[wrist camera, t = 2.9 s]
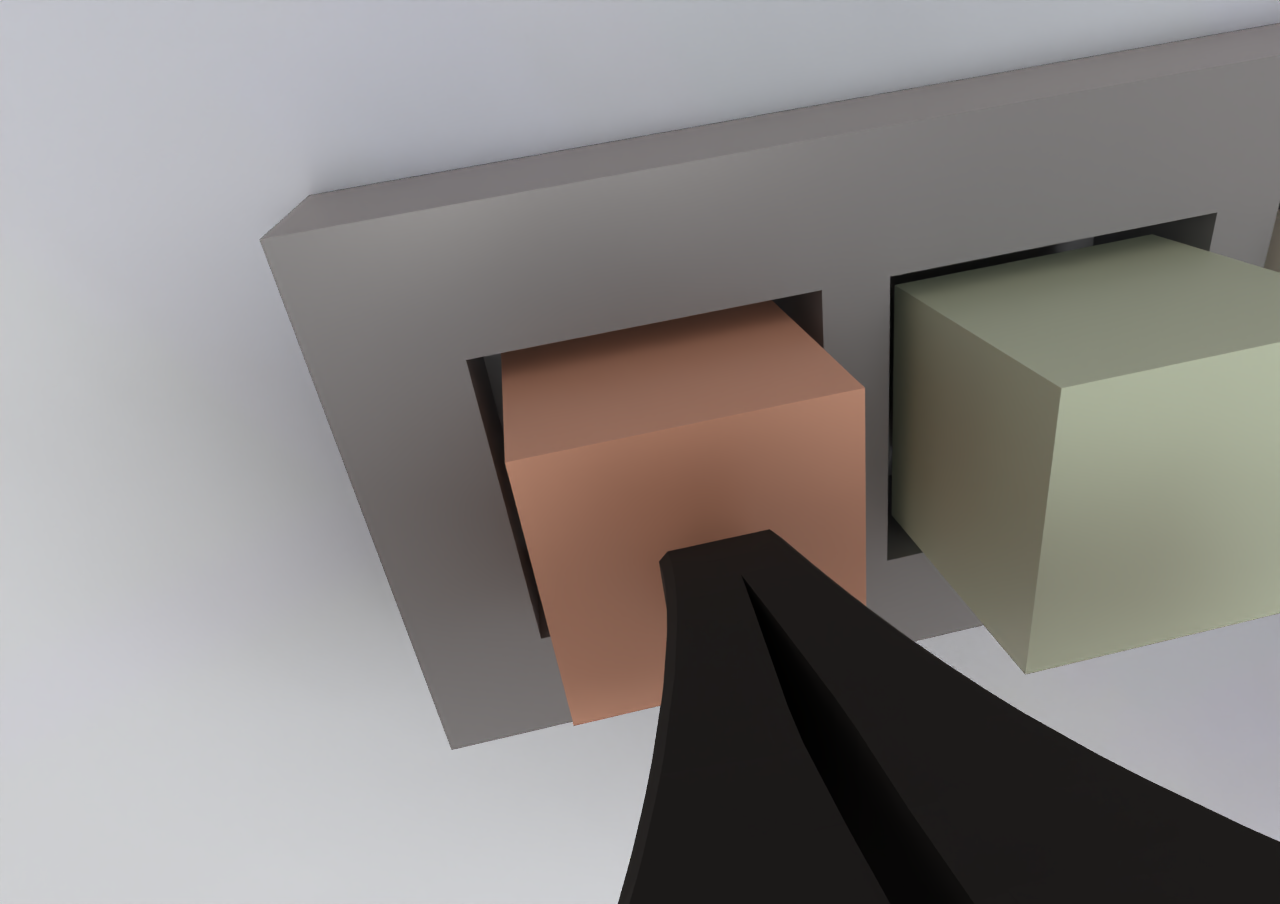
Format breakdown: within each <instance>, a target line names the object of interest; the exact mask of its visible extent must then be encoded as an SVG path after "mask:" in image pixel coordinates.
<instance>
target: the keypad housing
mask: <svg viewBox="0 0 1280 904" xmlns="http://www.w3.org/2000/svg"><path fill="white" fill-rule="evenodd" d="M1278 209H1280V23H1278V24H1272V25H1266V26H1261V27H1255V28H1250V29H1244V30H1238V31H1233V32H1227V33H1221V34H1216V35H1210V36H1204V37H1199V38H1193V39H1188V40H1182V41H1176V42H1171V43H1165V44H1159V45H1154V46H1148V47H1142V48H1137V49H1131V50H1126V51H1120V52H1114V53H1109V54H1103V55H1097V56H1092V57H1086V58H1080V59H1075V60H1069V61H1064V62H1058V63H1052V64H1047V65H1041V66H1035V67H1030V68H1024V69H1018V70H1013V71H1007V72H1002V73H996V74H990V75H985V76H979V77H973V78H968V79H962V80H956V81H951V82H945V83H940V84H934V85H928V86H923V87H917V88H911V89H906V90H900V91H894V92H889V93H883V94H878V95H872V96H866V97H861V98H855V99H849V100H844V101H838V102H832V103H827V104H821V105H816V106H810V107H804V108H799V109H793V110H787V111H782V112H776V113H771V114H765V115H759V116H754V117H748V118H742V119H737V120H731V121H725V122H720V123H714V124H709V125H703V126H697V127H692V128H686V129H680V130H675V131H669V132H663V133H658V134H652V135H647V136H641V137H635V138H630V139H624V140H618V141H613V142H607V143H601V144H596V145H590V146H585V147H579V148H573V149H568V150H562V151H556V152H551V153H545V154H539V155H534V156H528V157H523V158H517V159H511V160H506V161H500V162H494V163H489V164H483V165H477V166H472V167H466V168H461V169H455V170H449V171H444V172H438V173H432V174H427V175H421V176H415V177H410V178H404V179H399V180H393V181H387V182H382V183H376V184H370V185H365V186H359V187H353V188H348V189H342V190H337V191H331V192H325V193H320V194H314V195H309V196H308V197H307V198H306V199H305V200H303V201H302V202H301V203H300V204H299V205H298V206H297V207H296V208H294V209H293V210H292V211H291V212H290V213H289V214H288V215H287V216H285V217H284V218H283V219H282V220H281V221H280V222H279V223H278V224H276V225H275V226H274V227H273V228H272V229H271V230H270V231H269V232H267V233H266V234H265V235H264V236H263V237H262V238H261V239H260V242H261V245H262V247H263V250H264V253H265V255H266V258H267V261H268V263H269V266H270V268H271V271H272V274H273V276H274V279H275V282H276V284H277V287H278V290H279V292H280V295H281V298H282V300H283V303H284V306H285V308H286V311H287V314H288V316H289V319H290V322H291V324H292V327H293V330H294V332H295V335H296V338H297V340H298V343H299V346H300V348H301V351H302V353H303V356H304V359H305V361H306V364H307V367H308V369H309V372H310V375H311V377H312V380H313V383H314V385H315V388H316V391H317V393H318V396H319V399H320V401H321V404H322V407H323V409H324V412H325V415H326V417H327V420H328V423H329V425H330V428H331V431H332V433H333V436H334V438H335V441H336V444H337V446H338V449H339V452H340V454H341V457H342V460H343V462H344V465H345V468H346V470H347V473H348V476H349V478H350V481H351V484H352V486H353V489H354V492H355V494H356V497H357V500H358V502H359V505H360V508H361V510H362V513H363V516H364V518H365V521H366V523H367V526H368V529H369V531H370V534H371V537H372V539H373V542H374V545H375V547H376V550H377V553H378V555H379V558H380V561H381V563H382V566H383V569H384V571H385V574H386V577H387V579H388V582H389V585H390V587H391V590H392V593H393V595H394V598H395V601H396V603H397V606H398V608H399V611H400V614H401V616H402V619H403V622H404V624H405V627H406V630H407V632H408V635H409V638H410V640H411V643H412V646H413V648H414V651H415V654H416V656H417V659H418V662H419V664H420V667H421V670H422V672H423V675H424V678H425V680H426V683H427V685H428V688H429V691H430V693H431V696H432V699H433V701H434V704H435V707H436V709H437V712H438V715H439V717H440V720H441V723H442V725H443V728H444V731H445V733H446V736H447V739H448V741H449V744H450V747H451V749H452V750H453V749H458V748H462V747H466V746H471V745H475V744H479V743H483V742H488V741H492V740H496V739H500V738H505V737H509V736H513V735H517V734H522V733H526V732H530V731H534V730H539V729H543V728H547V727H551V726H556V725H560V724H564V723H569V722H573V721H572V717H571V713H570V709H569V705H568V702H567V698H566V694H565V690H564V686H563V683H562V679H561V675H560V671H559V667H558V663H557V660H556V656H555V652H554V648H553V644H552V641H551V637H550V633H549V629H548V625H547V621H546V618H545V614H544V610H543V606H542V602H541V599H540V595H539V591H538V587H537V583H536V579H535V576H534V572H533V568H532V564H531V560H530V557H529V553H528V549H527V545H526V541H525V537H524V534H523V530H522V526H521V522H520V518H519V515H518V511H517V507H516V503H515V499H514V495H513V492H512V488H511V484H510V480H509V476H508V473H507V469H506V465H505V452H504V424H503V396H502V368H501V353H504V352H509V351H514V350H519V349H524V348H529V347H535V346H540V345H545V344H550V343H555V342H560V341H565V340H570V339H575V338H580V337H585V336H591V335H596V334H601V333H606V332H611V331H616V330H621V329H626V328H631V327H636V326H641V325H647V324H652V323H657V322H662V321H667V320H672V319H677V318H682V317H687V316H692V315H697V314H703V313H708V312H713V311H718V310H723V309H728V308H733V307H738V306H743V305H748V304H753V303H759V302H764V301H769V300H772V301H773V302H774V303H775V304H776V305H778V306H779V307H780V308H781V309H782V310H783V311H784V312H785V313H786V314H787V315H788V316H789V317H790V318H791V319H792V320H793V321H795V322H796V323H797V324H798V325H799V326H800V327H801V328H802V329H803V330H804V331H805V332H806V333H807V334H808V335H809V336H810V337H812V338H813V339H814V340H815V341H816V342H817V343H818V344H819V345H820V346H821V347H822V348H823V349H824V350H825V351H826V352H827V353H829V354H830V355H831V356H832V357H833V358H834V359H835V360H836V361H837V362H838V363H839V364H840V365H841V366H842V367H843V368H844V369H846V370H847V371H848V372H849V373H850V374H851V375H852V376H853V377H854V378H855V379H856V380H857V381H858V382H859V383H860V384H861V385H863V386H864V387H865V472H866V607H868V608H869V609H870V610H872V611H873V612H875V613H876V614H877V615H879V616H880V617H881V618H883V619H884V620H885V621H887V622H888V623H890V624H891V625H892V626H894V627H895V628H896V629H898V630H899V631H900V632H902V633H903V634H905V635H906V636H907V637H909V638H910V639H911V640H913V641H918V640H922V639H926V638H931V637H935V636H939V635H944V634H948V633H952V632H956V631H961V630H965V629H969V628H973V627H978V626H982V625H983V624H982V622H981V621H980V620H979V619H978V618H977V616H976V615H975V614H974V613H973V612H972V610H971V609H970V608H969V607H968V606H967V604H966V603H965V602H964V601H963V600H962V598H961V597H960V596H959V595H958V594H957V592H956V591H955V590H954V589H953V588H952V586H951V585H950V584H949V583H948V582H947V581H946V579H945V578H944V577H943V576H942V575H941V573H940V572H939V571H938V570H937V569H936V567H935V566H934V565H933V564H932V563H931V561H930V560H929V559H928V558H927V557H926V555H925V554H924V553H923V552H922V551H921V549H920V548H919V547H918V546H917V545H916V543H915V542H914V541H913V540H912V539H911V537H910V536H909V535H908V534H907V533H906V532H905V530H904V529H903V528H902V527H901V526H900V524H899V523H898V522H897V521H896V520H895V518H894V517H893V516H892V443H893V367H894V292H895V285H897V284H902V283H908V282H913V281H918V280H923V279H928V278H933V277H938V276H943V275H948V274H953V273H958V272H963V271H968V270H973V269H978V268H984V267H989V266H994V265H999V264H1004V263H1009V262H1014V261H1019V260H1024V259H1029V258H1034V257H1039V256H1044V255H1049V254H1054V253H1060V252H1065V251H1070V250H1075V249H1080V248H1085V247H1090V246H1095V245H1100V244H1105V243H1110V242H1115V241H1120V240H1125V239H1130V238H1135V237H1141V236H1146V235H1151V234H1153V235H1156V236H1160V237H1163V238H1166V239H1170V240H1173V241H1176V242H1180V243H1183V244H1186V245H1190V246H1193V247H1196V248H1199V249H1203V250H1206V251H1209V252H1213V253H1216V254H1219V255H1223V256H1226V257H1229V258H1233V259H1236V260H1239V261H1243V262H1246V263H1249V264H1253V265H1256V266H1259V267H1262V268H1264V265H1265V261H1266V256H1267V252H1268V248H1269V244H1270V240H1271V236H1272V232H1273V228H1274V224H1275V219H1276V215H1277V211H1278Z"/></svg>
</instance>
